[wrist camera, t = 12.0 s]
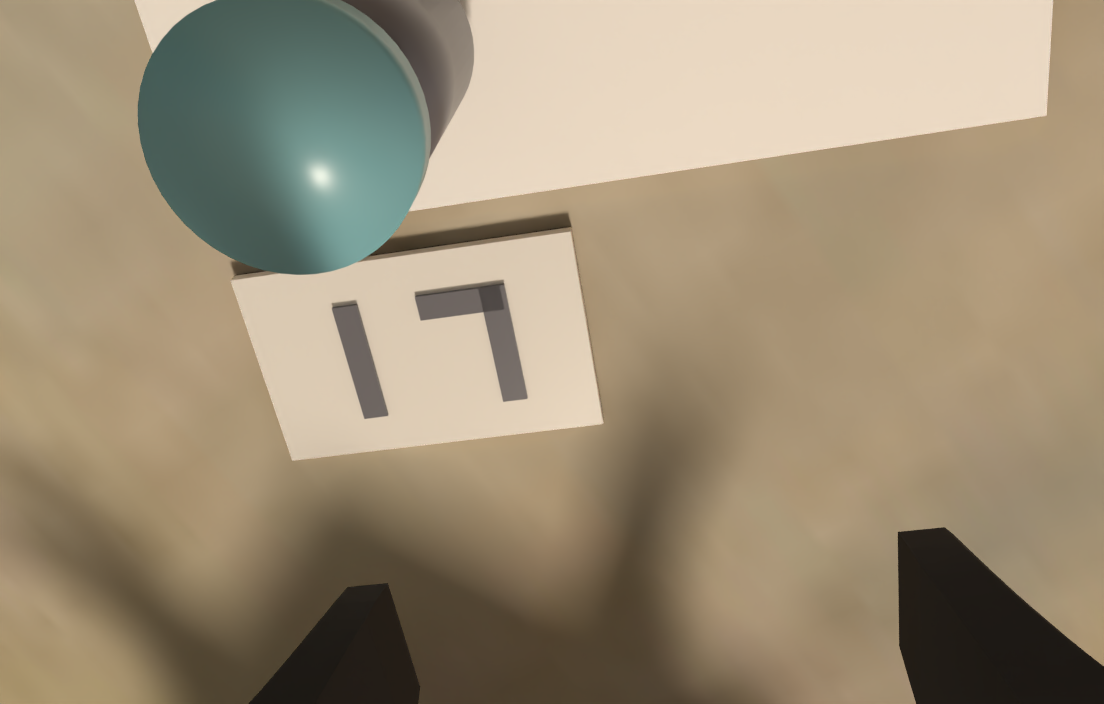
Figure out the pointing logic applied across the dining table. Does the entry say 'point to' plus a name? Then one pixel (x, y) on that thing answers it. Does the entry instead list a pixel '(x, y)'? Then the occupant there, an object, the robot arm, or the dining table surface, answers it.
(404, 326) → the word card
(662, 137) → the paper
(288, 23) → the marker
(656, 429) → the dining table surface
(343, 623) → the robot arm
